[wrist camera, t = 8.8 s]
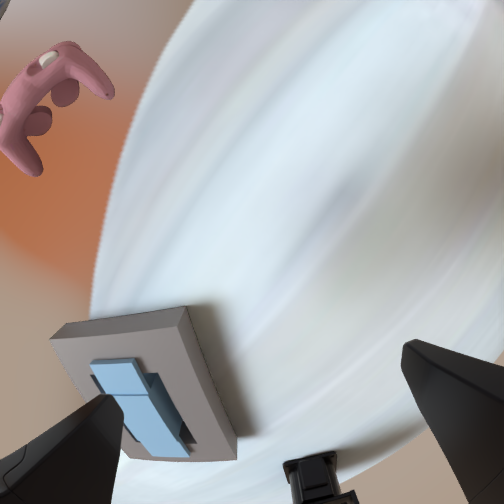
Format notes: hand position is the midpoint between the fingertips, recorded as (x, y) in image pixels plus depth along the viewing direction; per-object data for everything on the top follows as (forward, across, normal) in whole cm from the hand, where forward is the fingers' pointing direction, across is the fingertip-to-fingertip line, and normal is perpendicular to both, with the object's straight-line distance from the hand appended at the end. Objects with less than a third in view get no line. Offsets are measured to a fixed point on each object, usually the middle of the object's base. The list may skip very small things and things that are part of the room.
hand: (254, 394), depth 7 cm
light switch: (+12, +11, +10) cm, 19 cm away
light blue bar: (+12, +11, +10) cm, 19 cm away
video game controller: (+12, +12, -15) cm, 23 cm away
